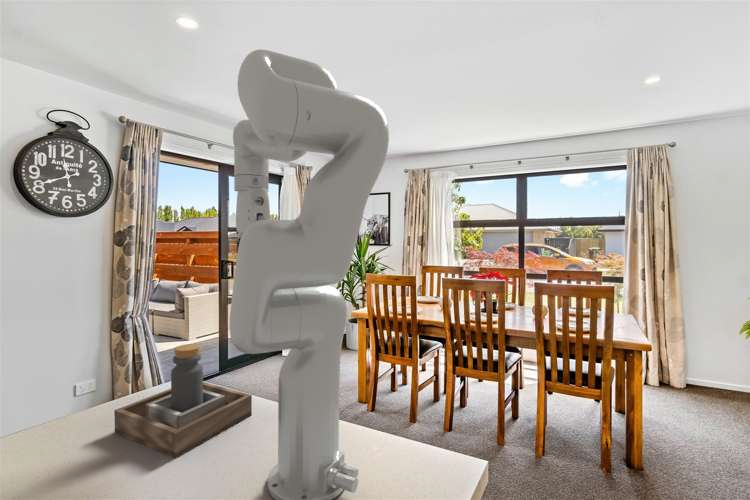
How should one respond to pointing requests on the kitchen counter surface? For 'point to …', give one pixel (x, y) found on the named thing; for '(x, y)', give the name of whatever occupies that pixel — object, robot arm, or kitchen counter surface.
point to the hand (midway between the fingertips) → (251, 259)
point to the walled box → (182, 419)
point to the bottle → (186, 378)
